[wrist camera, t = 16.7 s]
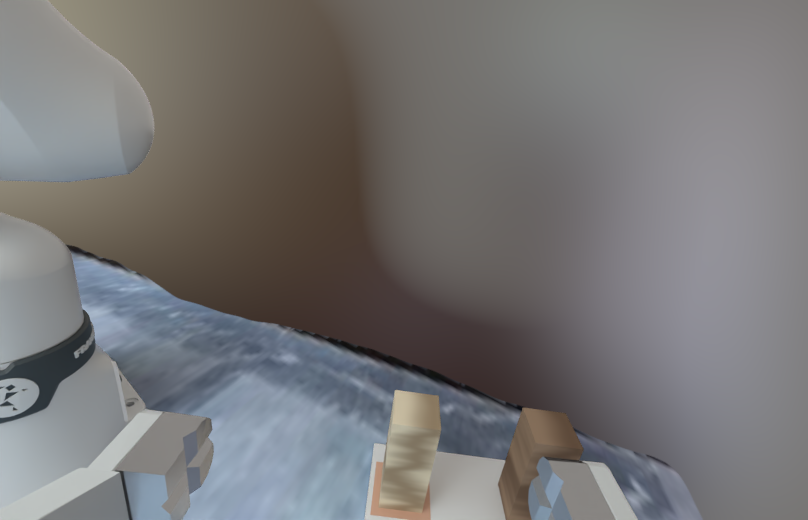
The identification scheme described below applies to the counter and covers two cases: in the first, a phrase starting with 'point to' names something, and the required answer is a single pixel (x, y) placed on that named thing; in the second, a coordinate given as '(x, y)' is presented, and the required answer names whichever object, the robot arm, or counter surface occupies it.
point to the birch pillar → (410, 451)
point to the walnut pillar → (534, 456)
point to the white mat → (446, 489)
